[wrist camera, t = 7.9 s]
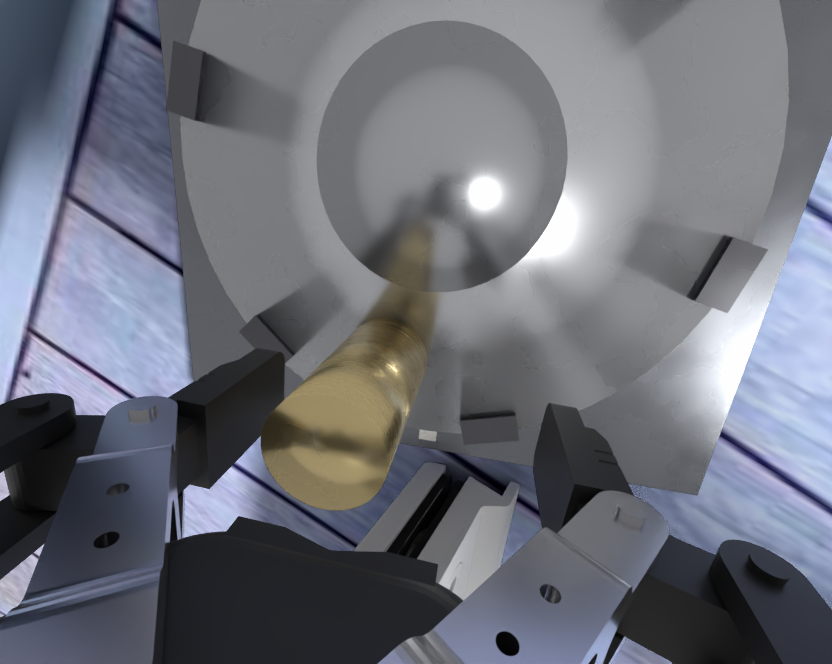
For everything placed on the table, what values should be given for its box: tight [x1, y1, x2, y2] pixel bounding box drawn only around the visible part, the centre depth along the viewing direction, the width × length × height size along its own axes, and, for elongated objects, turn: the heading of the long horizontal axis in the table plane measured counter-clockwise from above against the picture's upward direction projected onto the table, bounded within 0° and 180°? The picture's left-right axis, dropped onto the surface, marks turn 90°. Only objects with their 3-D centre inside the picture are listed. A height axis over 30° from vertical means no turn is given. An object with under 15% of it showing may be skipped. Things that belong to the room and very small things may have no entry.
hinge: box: [354, 462, 520, 601], centre depth 21 cm, size 17×5×10 cm, turn 173°
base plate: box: [157, 0, 832, 495], centre depth 16 cm, size 24×24×2 cm
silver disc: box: [166, 0, 789, 511], centre depth 11 cm, size 18×19×9 cm
